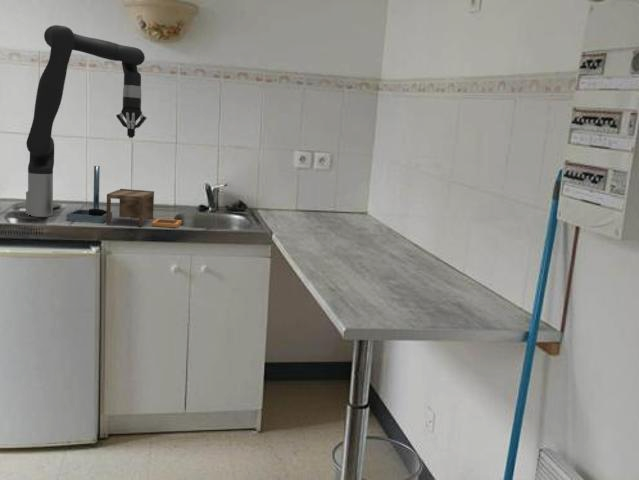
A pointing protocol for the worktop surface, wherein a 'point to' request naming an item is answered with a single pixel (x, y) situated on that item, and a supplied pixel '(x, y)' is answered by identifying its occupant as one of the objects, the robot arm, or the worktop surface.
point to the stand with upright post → (83, 214)
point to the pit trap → (166, 223)
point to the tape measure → (96, 212)
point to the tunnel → (132, 204)
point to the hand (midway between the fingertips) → (131, 137)
